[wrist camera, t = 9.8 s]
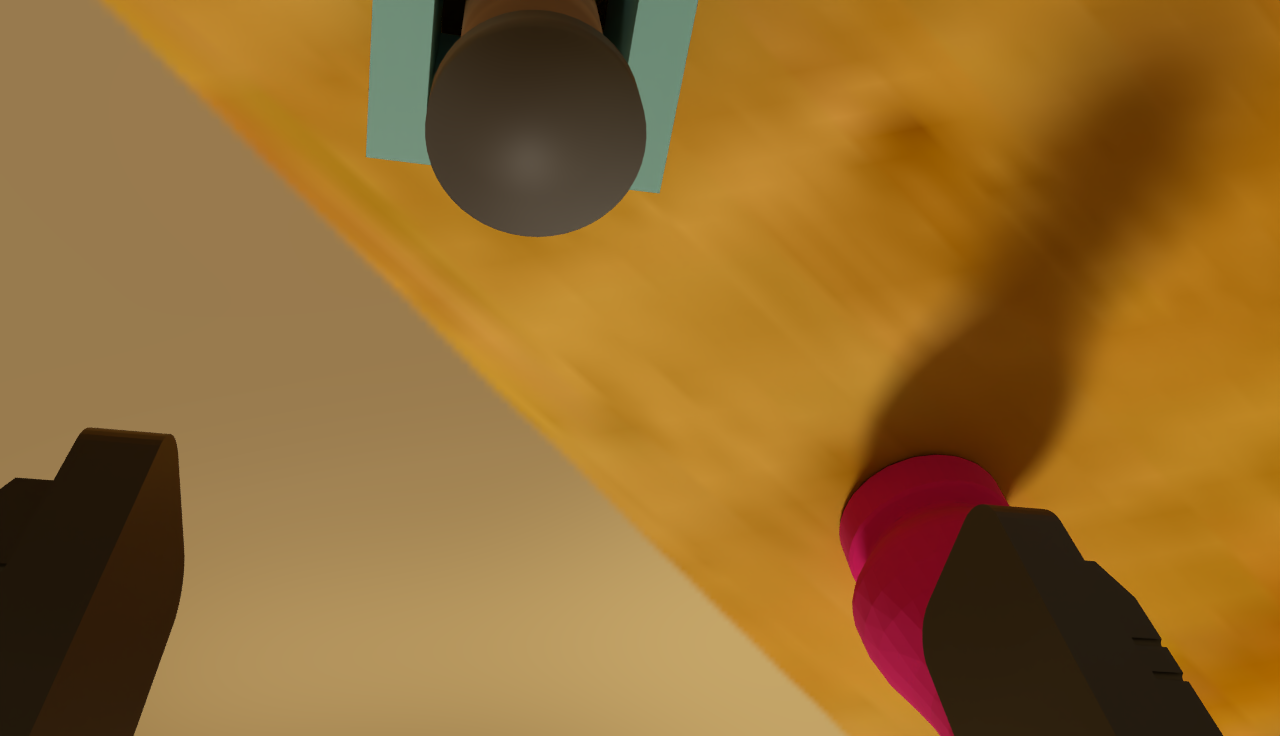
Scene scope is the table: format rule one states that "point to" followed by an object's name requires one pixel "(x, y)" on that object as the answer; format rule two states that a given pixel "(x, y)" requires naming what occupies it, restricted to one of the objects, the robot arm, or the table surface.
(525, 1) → the pin
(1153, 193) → the table surface
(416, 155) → the socket
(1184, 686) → the robot arm
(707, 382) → the table surface
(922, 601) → the pepper mill
